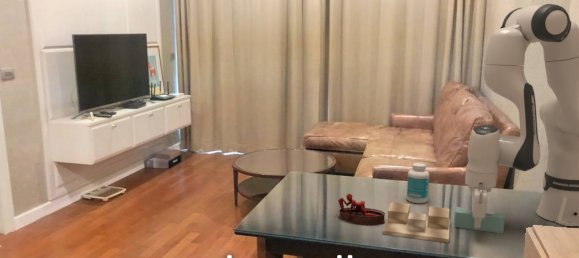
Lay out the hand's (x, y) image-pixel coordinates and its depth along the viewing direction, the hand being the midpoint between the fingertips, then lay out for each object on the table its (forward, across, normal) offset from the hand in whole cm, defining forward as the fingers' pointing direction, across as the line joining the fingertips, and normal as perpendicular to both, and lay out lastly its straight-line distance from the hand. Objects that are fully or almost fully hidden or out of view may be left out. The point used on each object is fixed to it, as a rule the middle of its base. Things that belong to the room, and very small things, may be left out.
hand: (476, 221), depth 149 cm
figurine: (+3, -5, +35) cm, 36 cm away
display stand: (+2, -6, +17) cm, 18 cm away
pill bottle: (+2, +19, +20) cm, 28 cm away
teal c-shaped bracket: (+2, +5, -1) cm, 5 cm away
